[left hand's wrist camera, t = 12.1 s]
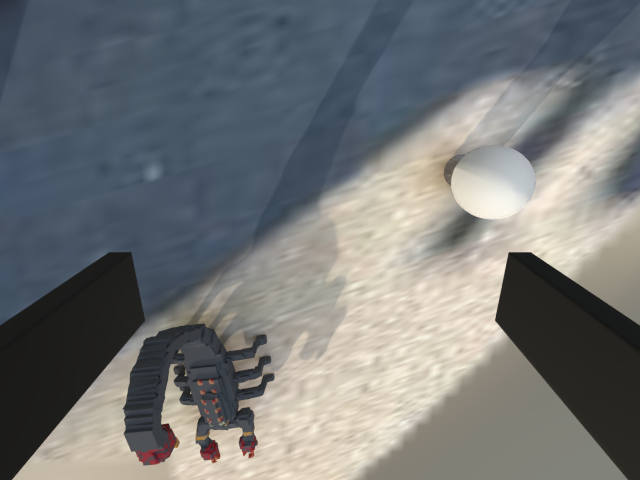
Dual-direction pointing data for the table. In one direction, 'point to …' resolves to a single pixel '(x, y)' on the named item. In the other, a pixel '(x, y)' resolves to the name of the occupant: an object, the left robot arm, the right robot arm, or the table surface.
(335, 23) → the table surface
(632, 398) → the left robot arm
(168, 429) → the toy
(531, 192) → the light bulb
